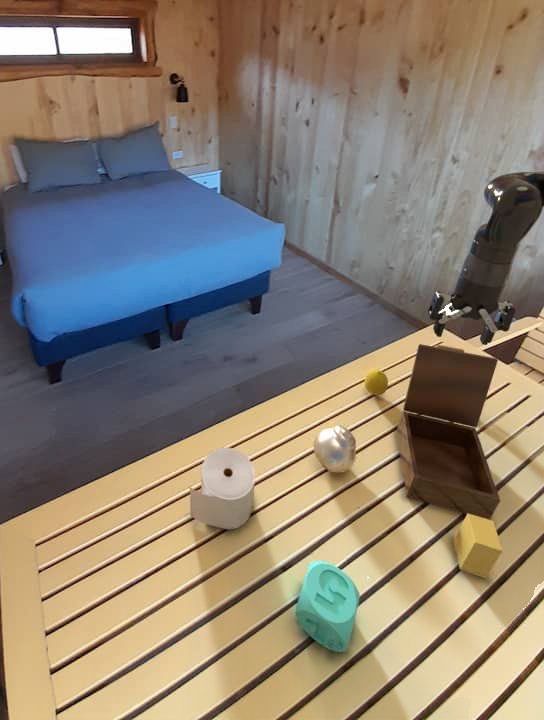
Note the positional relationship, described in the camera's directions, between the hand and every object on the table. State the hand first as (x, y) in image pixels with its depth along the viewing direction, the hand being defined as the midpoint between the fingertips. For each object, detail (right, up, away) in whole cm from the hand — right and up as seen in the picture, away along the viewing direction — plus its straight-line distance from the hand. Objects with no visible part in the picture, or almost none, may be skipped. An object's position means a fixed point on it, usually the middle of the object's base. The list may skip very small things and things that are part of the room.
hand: (459, 338), depth 87 cm
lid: (-1, -11, +3) cm, 12 cm away
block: (-7, -38, -13) cm, 40 cm away
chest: (-4, -30, +2) cm, 30 cm away
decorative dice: (-37, -42, -20) cm, 59 cm away
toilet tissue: (-52, -34, -4) cm, 62 cm away
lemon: (-9, -20, +21) cm, 31 cm away
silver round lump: (-26, -29, +4) cm, 40 cm away
